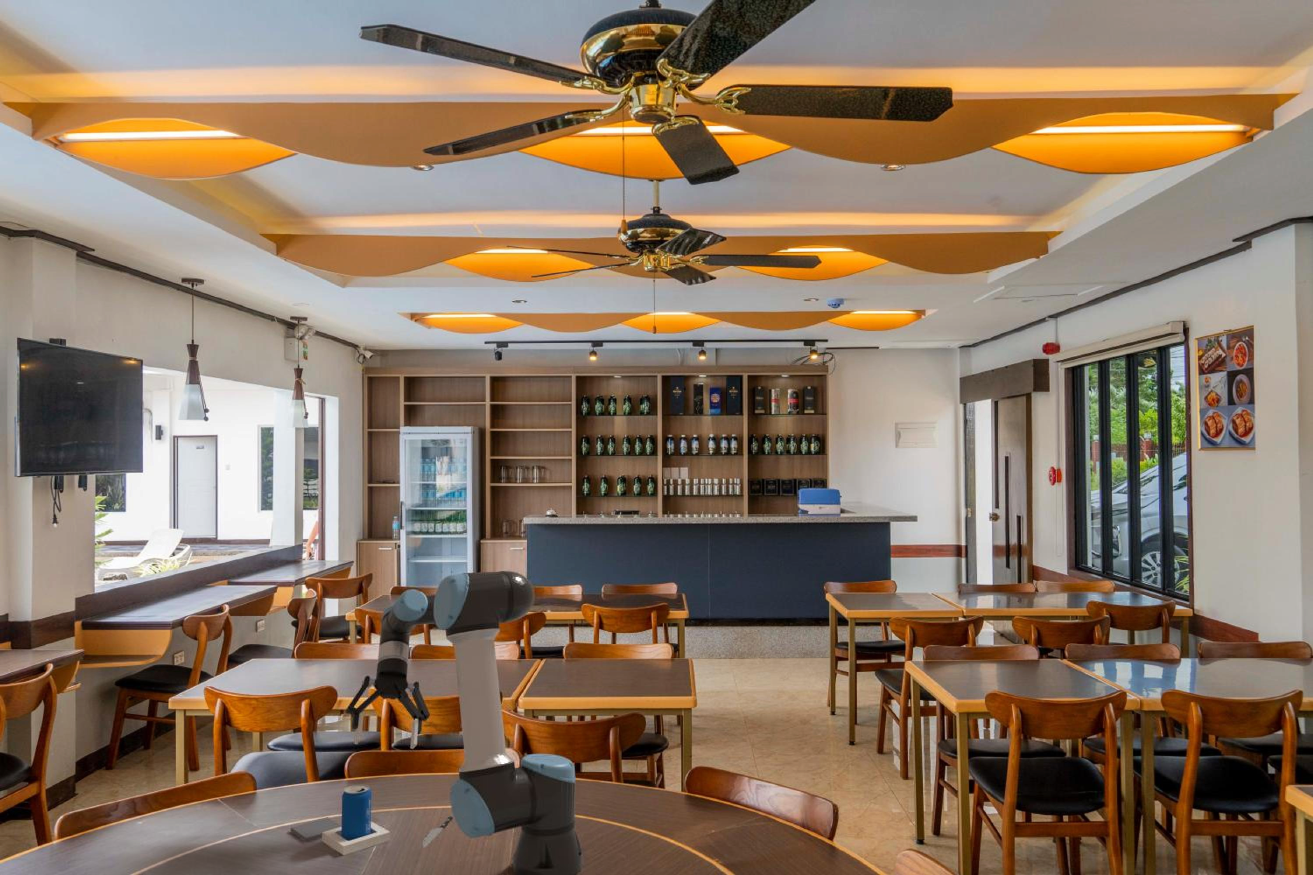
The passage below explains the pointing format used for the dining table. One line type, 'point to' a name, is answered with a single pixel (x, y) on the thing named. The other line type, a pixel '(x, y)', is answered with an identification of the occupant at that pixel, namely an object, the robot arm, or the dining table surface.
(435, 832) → the chef's knife
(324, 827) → the coaster
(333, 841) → the can holder
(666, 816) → the dining table surface
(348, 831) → the beverage can
